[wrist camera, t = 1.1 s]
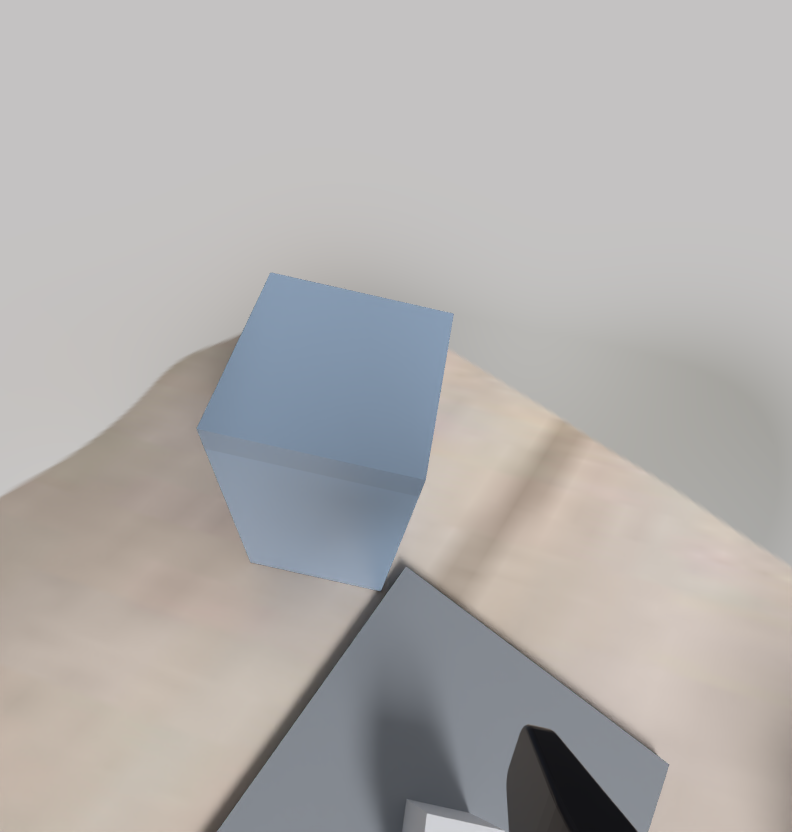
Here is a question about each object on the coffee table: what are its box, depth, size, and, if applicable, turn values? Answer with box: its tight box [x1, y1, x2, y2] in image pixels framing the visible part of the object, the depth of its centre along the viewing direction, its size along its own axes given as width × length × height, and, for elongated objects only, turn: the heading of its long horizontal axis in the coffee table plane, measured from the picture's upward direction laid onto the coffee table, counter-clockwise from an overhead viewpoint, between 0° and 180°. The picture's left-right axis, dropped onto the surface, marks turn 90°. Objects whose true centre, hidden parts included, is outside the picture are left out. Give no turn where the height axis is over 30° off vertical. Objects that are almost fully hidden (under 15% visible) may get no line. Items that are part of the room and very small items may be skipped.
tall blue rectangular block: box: [197, 273, 454, 591], centre depth 19 cm, size 8×6×11 cm
